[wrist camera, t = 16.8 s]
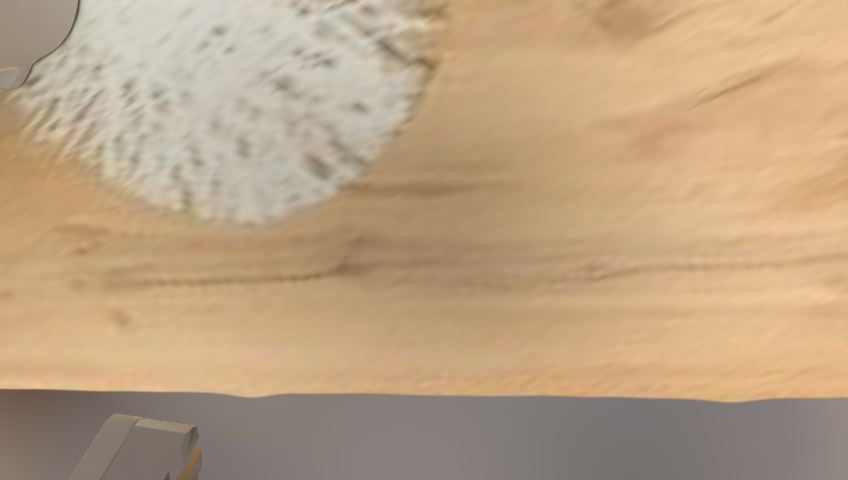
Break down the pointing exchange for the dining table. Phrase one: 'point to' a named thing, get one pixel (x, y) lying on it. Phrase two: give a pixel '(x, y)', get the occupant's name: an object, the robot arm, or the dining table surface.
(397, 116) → the dining table surface
